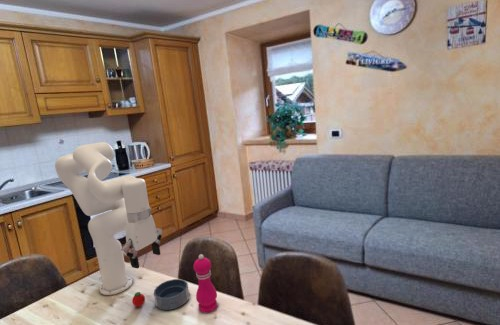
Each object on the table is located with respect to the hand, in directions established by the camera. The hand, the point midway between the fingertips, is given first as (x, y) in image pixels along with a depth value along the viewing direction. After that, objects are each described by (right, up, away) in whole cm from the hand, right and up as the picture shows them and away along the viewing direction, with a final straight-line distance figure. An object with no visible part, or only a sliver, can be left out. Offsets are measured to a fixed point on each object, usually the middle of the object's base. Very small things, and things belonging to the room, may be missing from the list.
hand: (146, 260), depth 111 cm
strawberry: (-4, -18, +6) cm, 19 cm away
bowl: (+8, -17, +6) cm, 20 cm away
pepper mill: (+22, -17, 0) cm, 27 cm away
